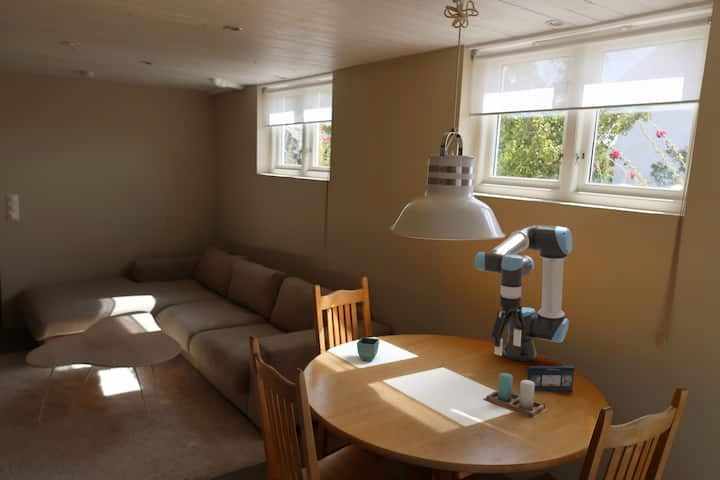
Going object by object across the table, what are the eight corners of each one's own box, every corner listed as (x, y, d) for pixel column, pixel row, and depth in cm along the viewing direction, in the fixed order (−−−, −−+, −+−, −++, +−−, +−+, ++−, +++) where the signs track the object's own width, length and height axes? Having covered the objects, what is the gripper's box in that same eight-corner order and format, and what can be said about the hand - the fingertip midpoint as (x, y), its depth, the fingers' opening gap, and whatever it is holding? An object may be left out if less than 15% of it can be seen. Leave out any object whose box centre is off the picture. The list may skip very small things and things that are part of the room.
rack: (499, 392, 209) (499, 386, 208) (548, 410, 194) (549, 404, 193) (482, 401, 200) (482, 395, 200) (532, 421, 186) (533, 415, 185)
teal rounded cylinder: (502, 395, 204) (503, 371, 202) (513, 400, 200) (515, 375, 199) (495, 399, 200) (496, 375, 199) (506, 404, 197) (508, 379, 195)
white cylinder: (523, 403, 197) (524, 378, 196) (535, 408, 194) (537, 382, 192) (516, 407, 194) (518, 382, 192) (528, 412, 190) (530, 386, 189)
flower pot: (356, 361, 240) (356, 342, 239) (361, 354, 248) (361, 336, 247) (374, 363, 238) (374, 345, 236) (379, 357, 246) (379, 338, 245)
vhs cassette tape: (528, 391, 211) (529, 368, 209) (525, 388, 214) (527, 365, 212) (573, 391, 211) (575, 368, 209) (570, 388, 214) (572, 365, 212)
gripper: (518, 288, 205) (515, 339, 209) (483, 300, 188) (481, 355, 191) (535, 292, 200) (532, 344, 203) (501, 304, 183) (498, 361, 186)
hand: (507, 350), depth 197 cm, fingers open, 13 cm apart
